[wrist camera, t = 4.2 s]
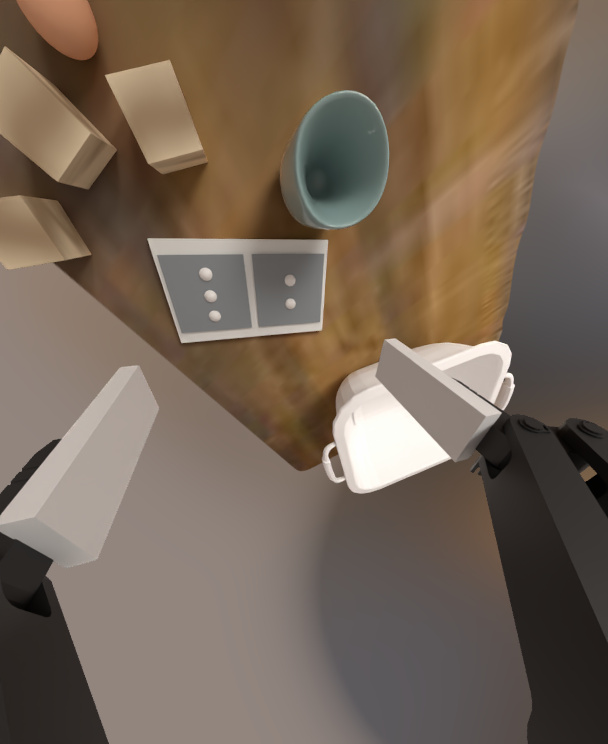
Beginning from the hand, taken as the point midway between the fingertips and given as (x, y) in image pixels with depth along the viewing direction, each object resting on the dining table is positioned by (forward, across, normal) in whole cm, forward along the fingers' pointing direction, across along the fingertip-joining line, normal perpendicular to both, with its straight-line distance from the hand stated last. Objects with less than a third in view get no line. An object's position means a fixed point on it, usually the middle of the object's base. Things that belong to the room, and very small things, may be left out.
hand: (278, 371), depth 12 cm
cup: (+21, +7, +11) cm, 24 cm away
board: (+20, 0, 0) cm, 20 cm away
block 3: (+20, -6, +14) cm, 25 cm away
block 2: (+16, -19, +6) cm, 25 cm away
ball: (+20, -11, +18) cm, 30 cm away
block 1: (+20, -14, +12) cm, 28 cm away
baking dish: (+21, +24, -21) cm, 38 cm away
